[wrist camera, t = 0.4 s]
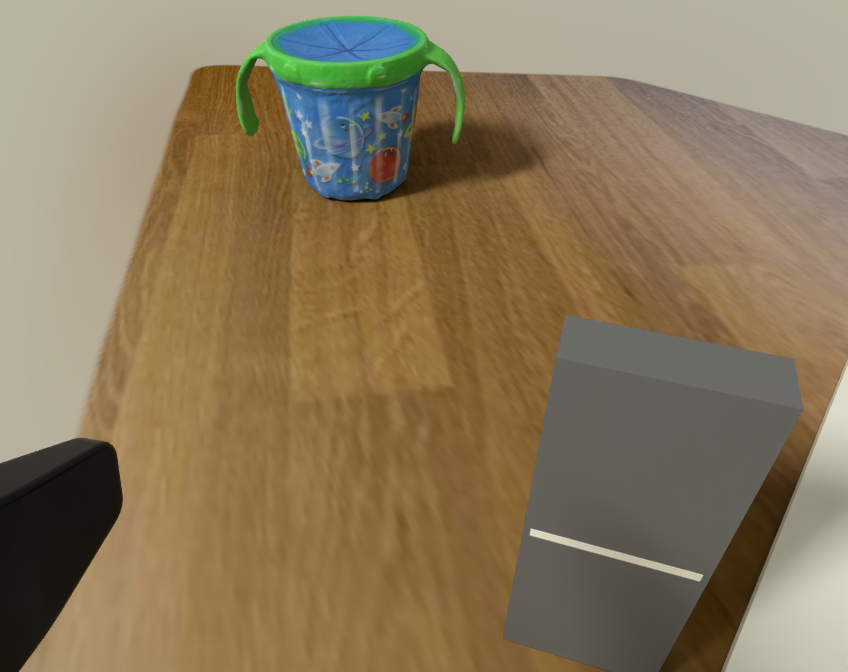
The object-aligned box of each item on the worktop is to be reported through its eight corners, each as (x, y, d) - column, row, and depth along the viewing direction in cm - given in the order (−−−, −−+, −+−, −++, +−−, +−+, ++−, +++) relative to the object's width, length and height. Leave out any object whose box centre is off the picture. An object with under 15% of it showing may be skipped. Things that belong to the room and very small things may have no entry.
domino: (651, 685, 22) (803, 410, 13) (502, 639, 23) (555, 358, 14) (653, 638, 23) (794, 358, 14) (512, 596, 24) (566, 314, 16)
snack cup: (227, 203, 46) (196, 51, 39) (281, 142, 54) (263, 7, 47) (447, 228, 44) (453, 72, 37) (470, 161, 52) (478, 22, 45)
